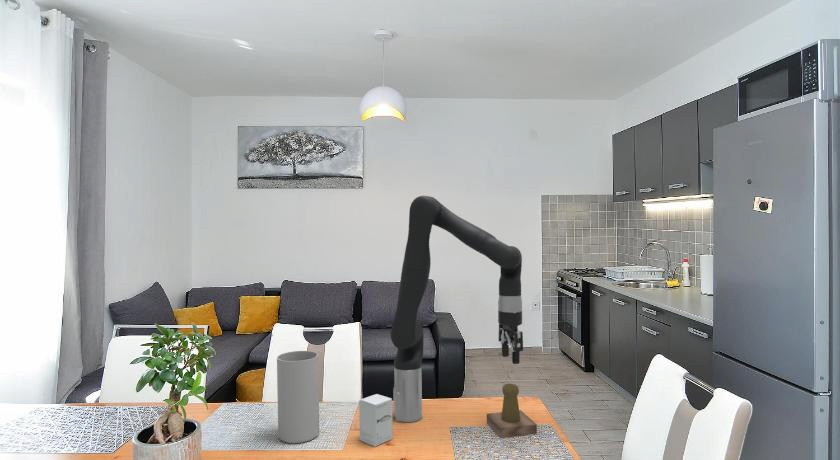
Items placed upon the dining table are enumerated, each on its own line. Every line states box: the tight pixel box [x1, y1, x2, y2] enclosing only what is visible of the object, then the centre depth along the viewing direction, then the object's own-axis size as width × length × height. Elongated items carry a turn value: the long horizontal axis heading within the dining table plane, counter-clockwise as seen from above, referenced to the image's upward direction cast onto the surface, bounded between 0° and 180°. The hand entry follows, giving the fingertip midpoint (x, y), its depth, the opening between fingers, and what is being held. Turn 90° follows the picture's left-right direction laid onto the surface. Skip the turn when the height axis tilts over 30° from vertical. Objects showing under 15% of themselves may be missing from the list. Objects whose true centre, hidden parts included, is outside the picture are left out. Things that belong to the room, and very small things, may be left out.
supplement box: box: [358, 393, 393, 448], centre depth 155 cm, size 7×7×13 cm
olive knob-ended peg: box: [501, 383, 520, 423], centre depth 162 cm, size 6×6×11 cm
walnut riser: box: [486, 409, 538, 439], centre depth 163 cm, size 12×12×3 cm
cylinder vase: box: [276, 350, 320, 444], centre depth 159 cm, size 12×12×25 cm
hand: (510, 359), depth 162 cm, fingers open, 8 cm apart
